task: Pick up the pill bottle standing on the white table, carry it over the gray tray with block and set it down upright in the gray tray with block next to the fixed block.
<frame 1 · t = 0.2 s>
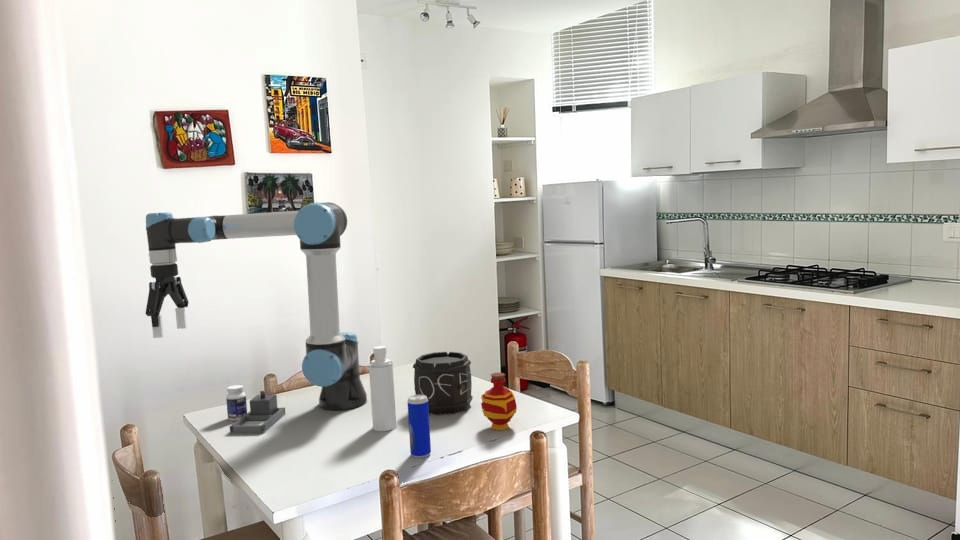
hand: (170, 332, 209), 27 cm above the table, fingers open, 13 cm apart
potion bottle: (499, 427, 192), on the table
pill bottle: (237, 418, 211), on the table
spray bottle: (384, 428, 196), on the table
gray tray with block: (258, 423, 205), on the table
beverage can: (420, 455, 174), on the table
wooden barrel: (445, 407, 213), on the table
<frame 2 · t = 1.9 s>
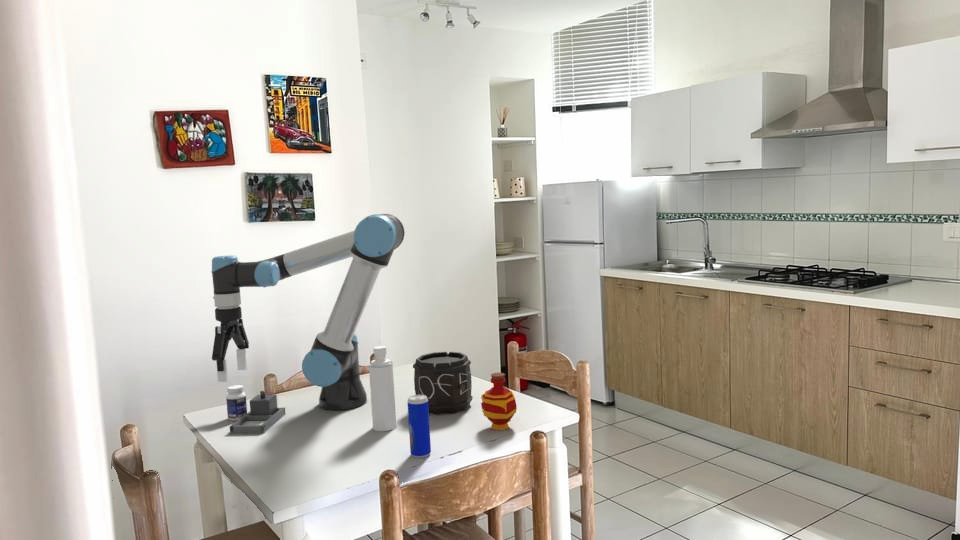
hand: (233, 375, 210), 13 cm above the table, fingers open, 13 cm apart
nothing on the table moved.
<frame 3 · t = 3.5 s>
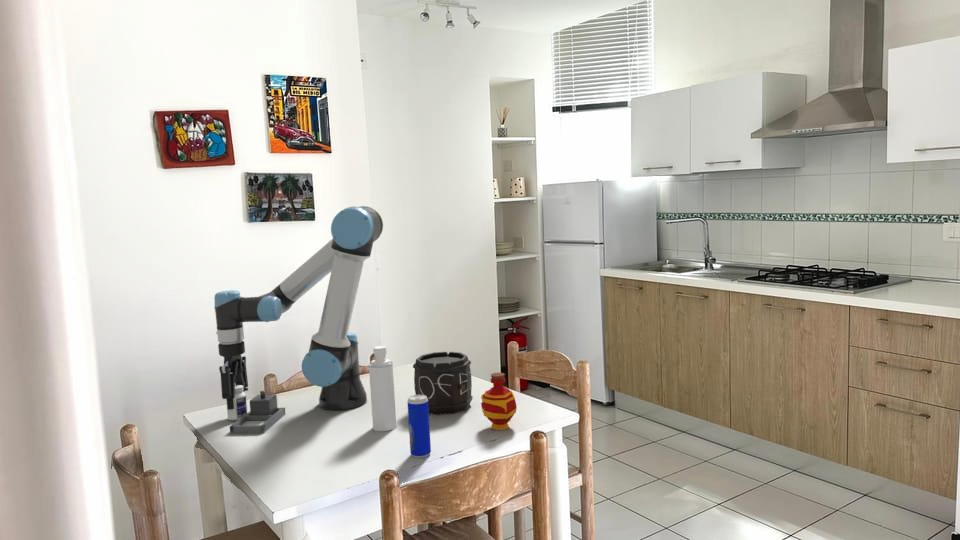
hand: (237, 415, 211), 1 cm above the table, fingers closed on pill bottle, 6 cm apart
pill bottle: (237, 418, 211), on the table, touching gripper
everything else where it was.
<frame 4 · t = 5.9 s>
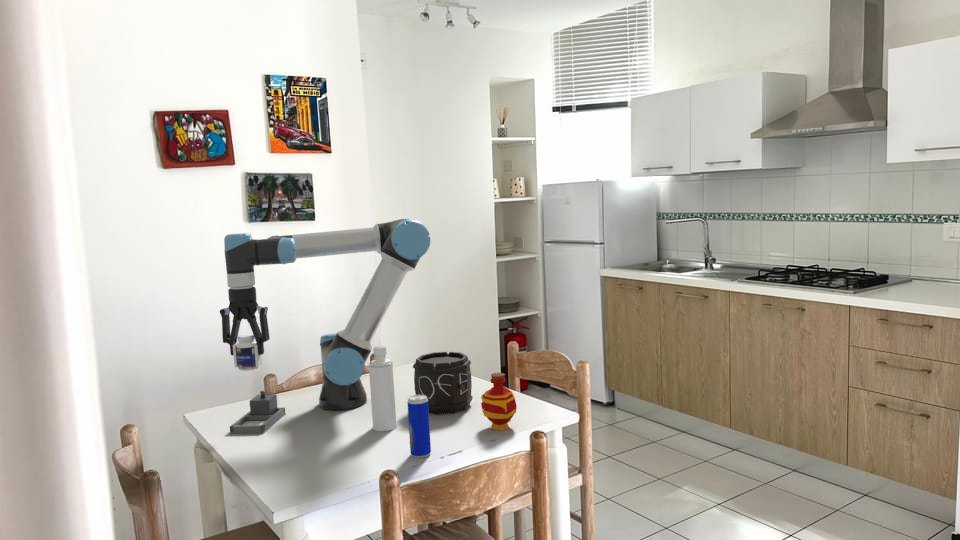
hand: (248, 365, 200), 19 cm above the table, fingers closed on pill bottle, 6 cm apart
pill bottle: (248, 369, 200), point 17 cm above the table, touching gripper
everything else where it was.
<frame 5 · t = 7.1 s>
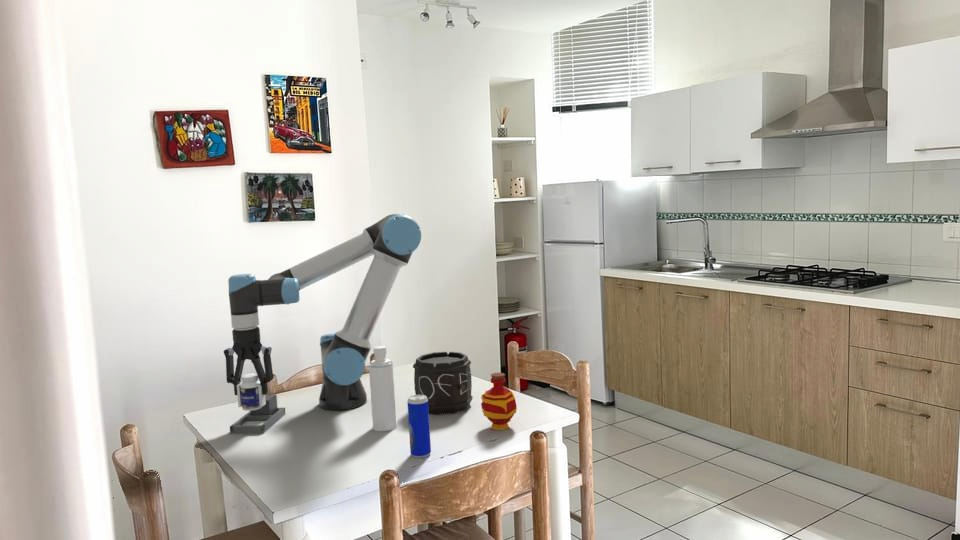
hand: (252, 405, 201), 7 cm above the table, fingers closed on pill bottle, 6 cm apart
pill bottle: (252, 408, 201), point 6 cm above the table, touching gripper
everything else where it was.
when the fingers open (3 cm above the table, at t = 8.1 s): pill bottle drops 2 cm, resting on gray tray with block.
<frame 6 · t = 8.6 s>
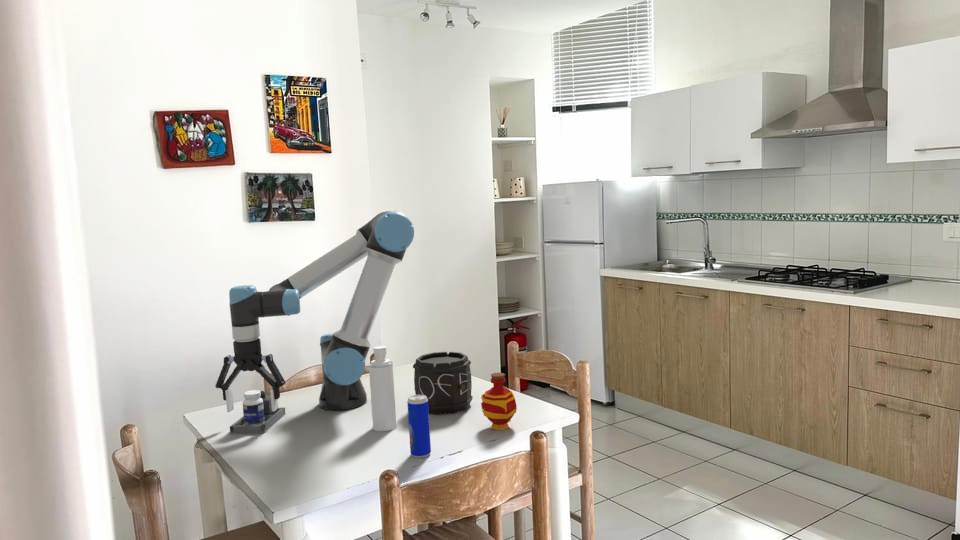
hand: (252, 410, 201), 5 cm above the table, fingers open, 13 cm apart
pill bottle: (254, 425, 201), point 1 cm above the table, touching gray tray with block
everything else where it was.
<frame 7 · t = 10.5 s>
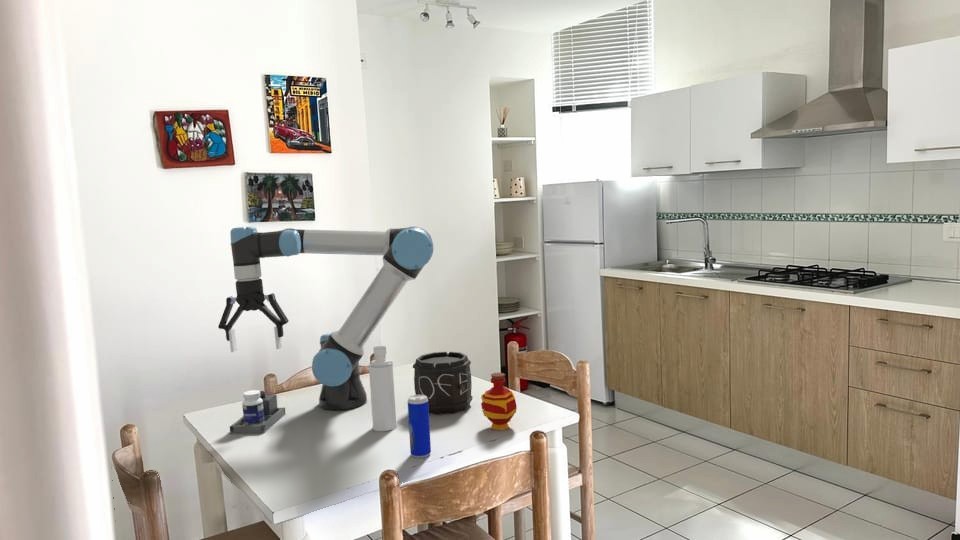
hand: (256, 349, 204), 22 cm above the table, fingers open, 13 cm apart
nothing on the table moved.
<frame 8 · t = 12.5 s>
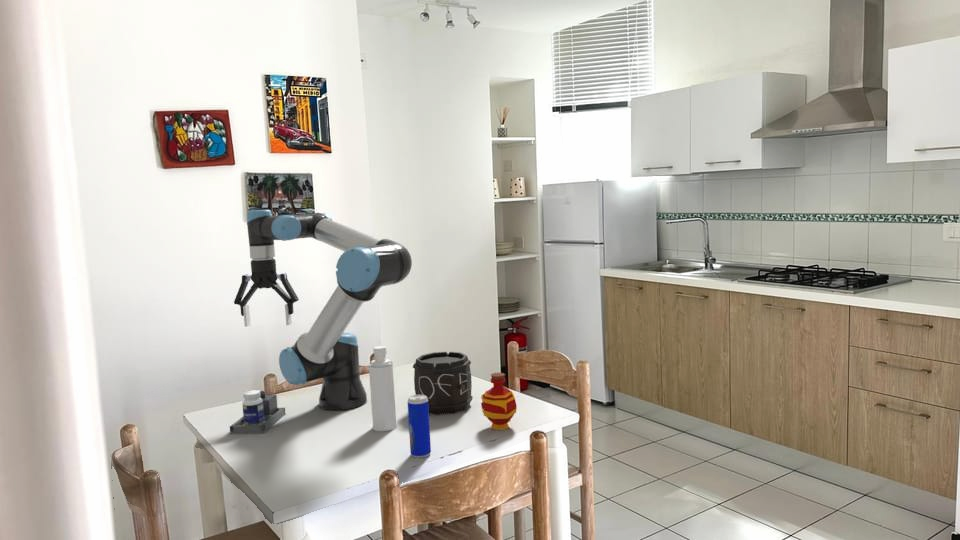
hand: (268, 325, 218), 27 cm above the table, fingers open, 13 cm apart
nothing on the table moved.
at the end: pill bottle 0.1 cm from the target spot on the gray tray with block, point 0.5 cm above the gray tray with block's base; pill bottle tilted 0°; the gripper is holding nothing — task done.
